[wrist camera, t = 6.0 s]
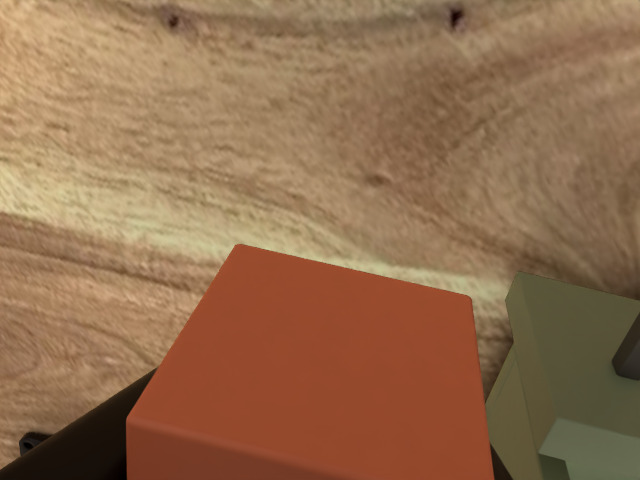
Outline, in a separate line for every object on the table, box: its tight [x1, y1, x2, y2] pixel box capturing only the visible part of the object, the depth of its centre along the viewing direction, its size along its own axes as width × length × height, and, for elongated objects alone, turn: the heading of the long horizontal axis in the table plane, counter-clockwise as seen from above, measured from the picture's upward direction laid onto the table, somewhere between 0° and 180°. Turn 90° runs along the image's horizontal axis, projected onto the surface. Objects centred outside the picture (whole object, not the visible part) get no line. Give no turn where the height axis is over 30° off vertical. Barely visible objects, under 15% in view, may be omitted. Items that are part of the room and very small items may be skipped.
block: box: [126, 244, 494, 480], centre depth 8 cm, size 4×4×4 cm
